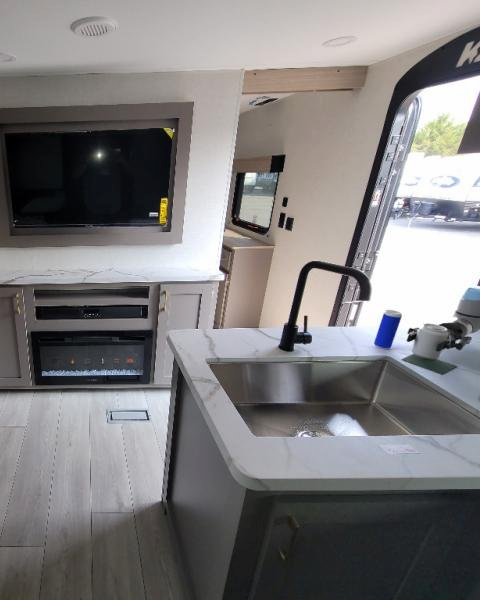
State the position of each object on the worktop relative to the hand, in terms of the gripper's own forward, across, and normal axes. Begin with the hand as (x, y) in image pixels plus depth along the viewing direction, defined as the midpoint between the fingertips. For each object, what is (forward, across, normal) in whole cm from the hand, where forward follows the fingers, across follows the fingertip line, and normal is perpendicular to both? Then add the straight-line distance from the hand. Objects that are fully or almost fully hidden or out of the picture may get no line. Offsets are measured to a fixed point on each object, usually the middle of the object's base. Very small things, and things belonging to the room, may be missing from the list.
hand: (423, 343), depth 118 cm
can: (-5, 0, -7) cm, 8 cm away
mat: (-1, -3, -7) cm, 8 cm away
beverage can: (-1, +11, -7) cm, 13 cm away
